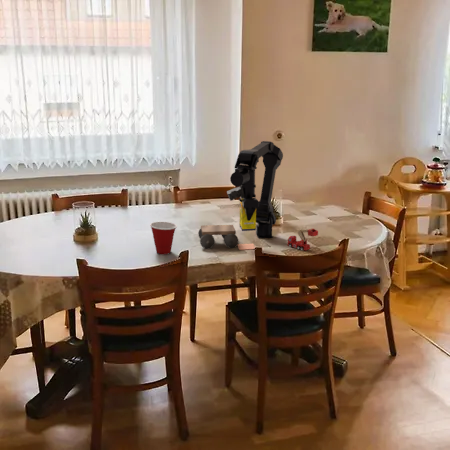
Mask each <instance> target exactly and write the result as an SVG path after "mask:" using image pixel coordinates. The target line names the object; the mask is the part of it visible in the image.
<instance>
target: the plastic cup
mask: <svg viewBox="0 0 450 450" xmlns="http://www.w3.org/2000/svg"><path fill="white" fill-rule="evenodd" d="M149 226H150V228H151V232H152V237H153V241H154V246H155V250H156V254H158V253H159V254H158V255H169V254H170V252H172V246H173V242H174V236H175V235H174V234H175V231H176V229H177V227H178V225H177V224H176V223H173V222H169V221H155V222H154V221H153V222H150V224H149ZM168 253H169V254H168Z"/></svg>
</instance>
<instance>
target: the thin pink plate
mask: <svg viewBox="0 0 450 450" xmlns="http://www.w3.org/2000/svg"><path fill="white" fill-rule="evenodd" d="M236 247H238V250H239V251H245V250H247V251H249V250H251V251H252V250H253V249H254V248H256V246H255V244H254V243H238V245H237V246H236Z"/></svg>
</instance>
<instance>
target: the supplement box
mask: <svg viewBox="0 0 450 450" xmlns="http://www.w3.org/2000/svg"><path fill="white" fill-rule="evenodd" d="M242 205H243V204H242V202H240V201H239V228H240V229H241V231H242V232H250V231H253V232H254V231H256V226H257V223H256V209H255V211H254V213H253V215H252V218H251V220H250V221H248V220H247V215H246V209H245V208H244V207H243V206H242Z"/></svg>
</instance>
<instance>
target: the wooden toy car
mask: <svg viewBox="0 0 450 450" xmlns="http://www.w3.org/2000/svg"><path fill="white" fill-rule="evenodd" d="M236 234H237V233H236V228H235V227H234V224H213V225H212V224H207V225H205V224H204V225H203V224H202V225H200V228H199V230H198V234H197V235H198V237H199V242H200V246H201V247H202V248H203V249H205V250H209V249H211V248H213V247H214V246H215V243H216V241H215V238H214V236H221V237H222V238H223V243H224V245H225V246H226V247H227V248H229V249H233V248H236V247H238V246H237V245H238V244H239V238H238V236H237V235H236Z"/></svg>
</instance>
